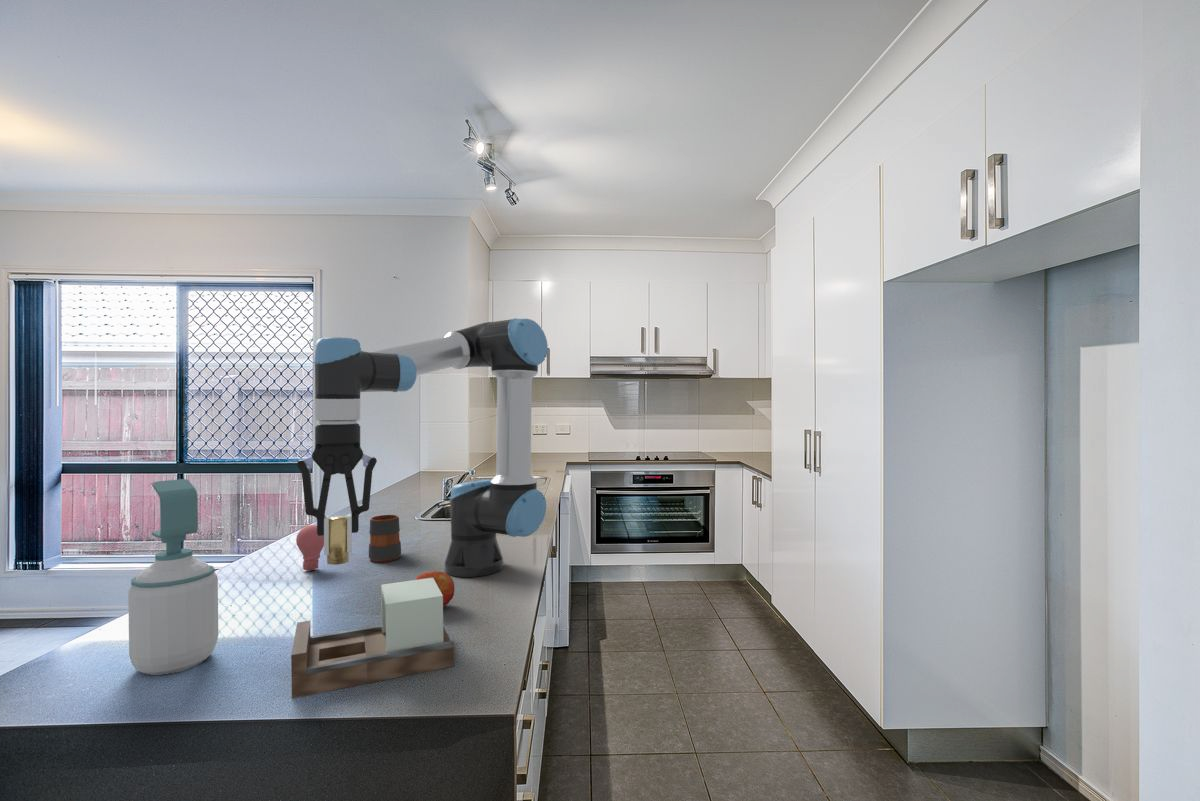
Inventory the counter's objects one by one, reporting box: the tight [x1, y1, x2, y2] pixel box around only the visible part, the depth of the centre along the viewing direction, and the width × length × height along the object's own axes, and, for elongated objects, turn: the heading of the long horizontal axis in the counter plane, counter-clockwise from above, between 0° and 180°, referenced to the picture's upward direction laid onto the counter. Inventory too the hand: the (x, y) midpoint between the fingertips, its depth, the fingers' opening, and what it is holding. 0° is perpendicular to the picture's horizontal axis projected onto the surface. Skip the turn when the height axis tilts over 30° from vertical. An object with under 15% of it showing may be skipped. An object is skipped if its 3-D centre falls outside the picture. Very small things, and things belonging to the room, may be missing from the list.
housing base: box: [290, 620, 455, 699], centre depth 97 cm, size 24×14×6 cm, turn 115°
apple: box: [415, 570, 456, 608], centre depth 123 cm, size 8×8×8 cm
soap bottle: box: [127, 478, 219, 676], centre depth 98 cm, size 12×12×31 cm
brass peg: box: [326, 515, 350, 566], centre depth 104 cm, size 4×4×8 cm
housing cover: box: [380, 578, 444, 653], centre depth 100 cm, size 9×11×8 cm
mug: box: [368, 514, 402, 563], centre depth 164 cm, size 9×12×12 cm
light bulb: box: [295, 524, 324, 572], centre depth 151 cm, size 7×7×12 cm
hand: (338, 551), depth 104 cm, fingers closed on brass peg, 3 cm apart
